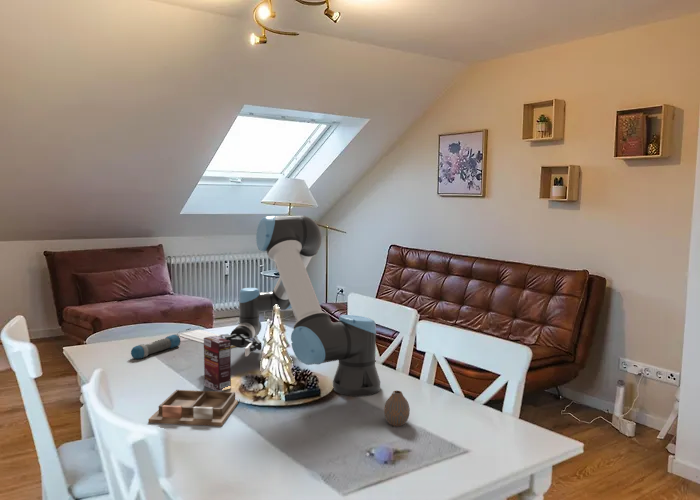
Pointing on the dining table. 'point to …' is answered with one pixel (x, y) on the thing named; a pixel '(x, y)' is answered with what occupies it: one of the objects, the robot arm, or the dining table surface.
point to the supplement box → (217, 363)
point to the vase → (396, 409)
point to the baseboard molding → (198, 335)
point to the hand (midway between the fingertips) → (225, 351)
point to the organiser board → (195, 408)
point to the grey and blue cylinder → (155, 346)
